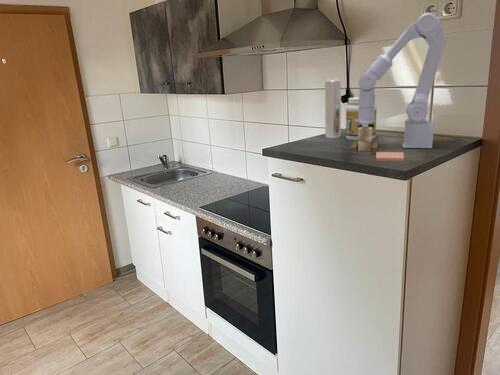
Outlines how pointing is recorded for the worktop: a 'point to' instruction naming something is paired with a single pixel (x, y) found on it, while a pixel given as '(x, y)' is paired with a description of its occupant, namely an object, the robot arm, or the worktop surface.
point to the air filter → (332, 108)
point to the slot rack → (355, 147)
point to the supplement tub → (352, 115)
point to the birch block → (364, 139)
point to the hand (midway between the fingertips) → (365, 144)
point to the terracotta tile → (389, 156)
